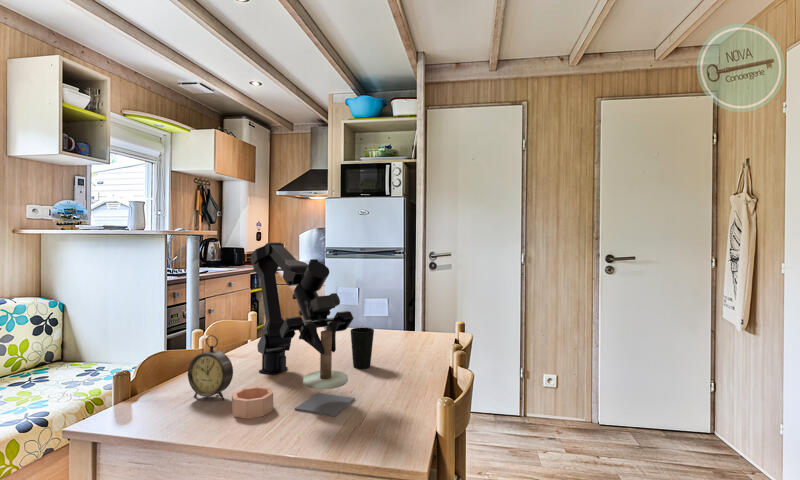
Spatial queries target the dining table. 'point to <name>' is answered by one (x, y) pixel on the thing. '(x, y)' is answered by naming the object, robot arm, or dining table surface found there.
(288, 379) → the dining table surface
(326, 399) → the mat
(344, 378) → the wooden peg on disc
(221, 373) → the alarm clock
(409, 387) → the dining table surface
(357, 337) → the cup
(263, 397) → the bowl
